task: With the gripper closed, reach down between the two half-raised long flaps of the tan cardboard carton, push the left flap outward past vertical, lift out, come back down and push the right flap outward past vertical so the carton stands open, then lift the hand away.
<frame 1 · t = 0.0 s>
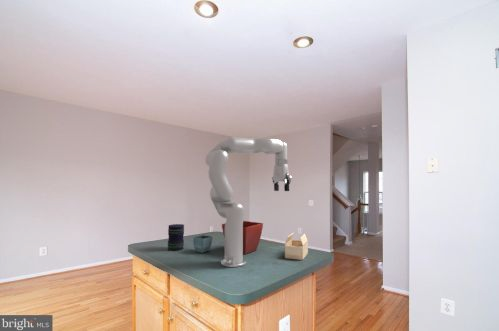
hand: (281, 190, 147), 37 cm above the countertop, tool pointing down, fingers open, 9 cm apart
plant pot: (242, 251, 151), on the countertop
flap right: (303, 239, 141), point 10 cm above the countertop, hinge at 70.0°
flower pot: (202, 251, 149), on the countertop
storage jar: (175, 249, 155), on the countertop
carton: (296, 255, 141), on the countertop
flap left: (289, 238, 144), point 10 cm above the countertop, hinge at 70.0°
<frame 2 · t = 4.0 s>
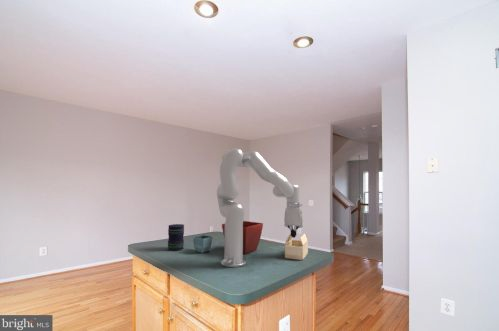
hand: (293, 237, 143), 10 cm above the countertop, tool pointing down, fingers closed
flap left: (289, 238, 144), point 10 cm above the countertop, hinge at 71.0°, touching gripper
everything else where it was.
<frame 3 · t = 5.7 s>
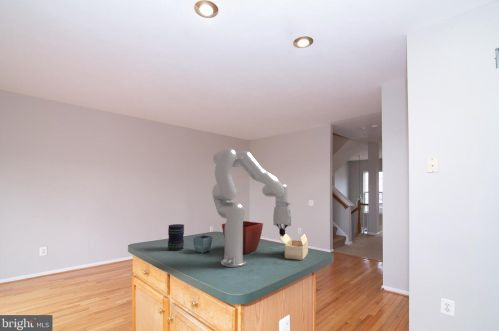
hand: (282, 235, 146), 11 cm above the countertop, tool pointing down, fingers closed
flap left: (285, 238, 145), point 9 cm above the countertop, hinge at 135.5°, touching gripper
everything else where it was.
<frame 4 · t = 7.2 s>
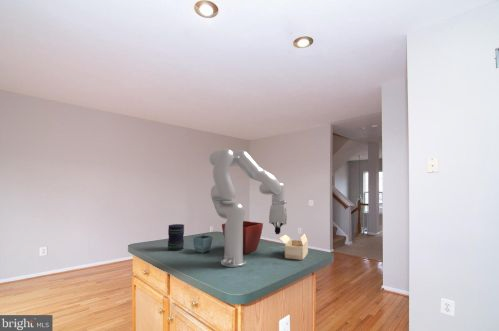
hand: (277, 233, 146), 12 cm above the countertop, tool pointing down, fingers closed
flap left: (285, 239, 145), point 9 cm above the countertop, hinge at 142.5°
everything else where it was.
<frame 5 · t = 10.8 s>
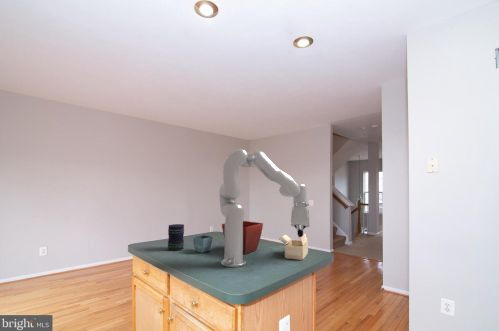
hand: (300, 236, 142), 11 cm above the countertop, tool pointing down, fingers closed
flap right: (304, 239, 141), point 10 cm above the countertop, hinge at 73.4°, touching gripper
flap left: (285, 239, 145), point 9 cm above the countertop, hinge at 143.3°
everything else where it was.
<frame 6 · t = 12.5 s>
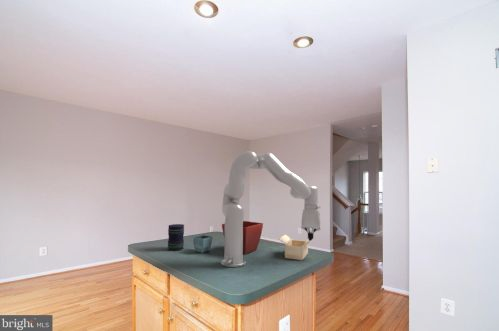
hand: (310, 240, 139), 9 cm above the countertop, tool pointing down, fingers closed
flap right: (308, 241, 139), point 9 cm above the countertop, hinge at 147.4°, touching gripper
everything else where it was.
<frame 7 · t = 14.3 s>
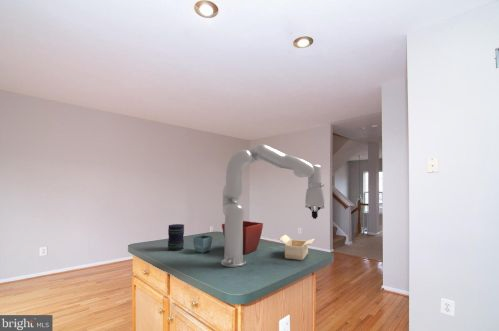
hand: (314, 218, 139), 22 cm above the countertop, tool pointing down, fingers closed
flap right: (309, 242, 139), point 8 cm above the countertop, hinge at 158.6°
everything else where it was.
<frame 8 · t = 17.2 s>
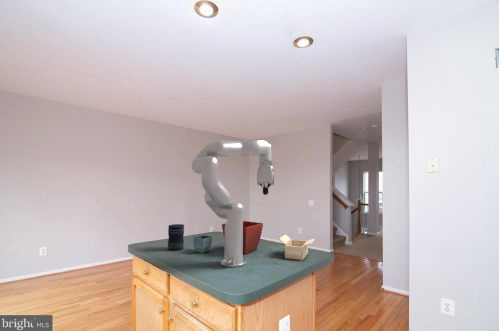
hand: (265, 194, 146), 35 cm above the countertop, tool pointing down, fingers closed
flap right: (309, 242, 139), point 8 cm above the countertop, hinge at 159.4°
everything else where it was.
at the end: flap left at +143° (first picture: +70°); flap right at +159° (first picture: +70°) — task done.
